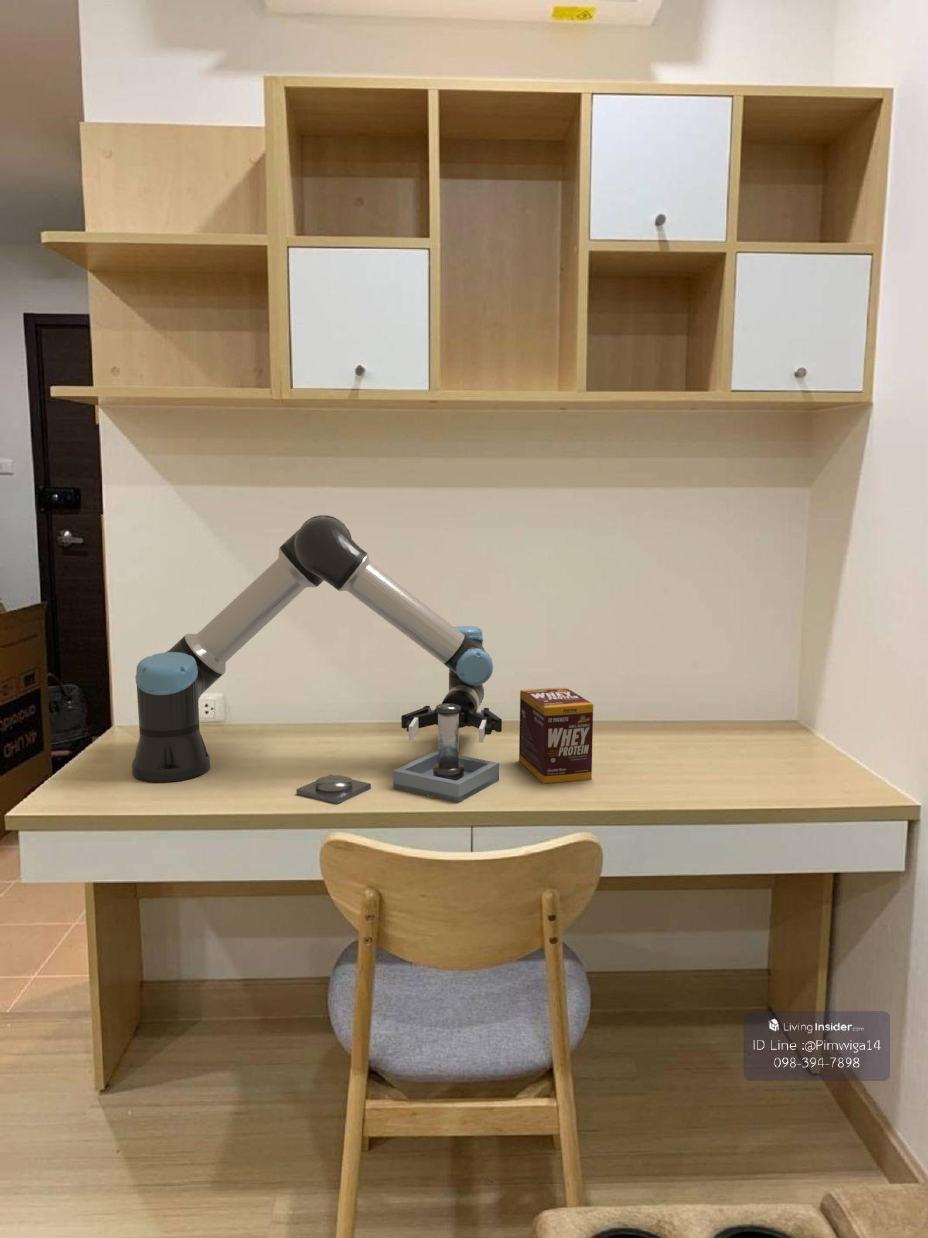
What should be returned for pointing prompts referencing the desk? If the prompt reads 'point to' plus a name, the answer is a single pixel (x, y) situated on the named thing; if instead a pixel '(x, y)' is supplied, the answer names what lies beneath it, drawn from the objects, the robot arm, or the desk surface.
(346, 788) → the stud mount
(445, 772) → the clear capped cylinder
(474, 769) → the tray
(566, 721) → the supplement box
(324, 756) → the desk surface
